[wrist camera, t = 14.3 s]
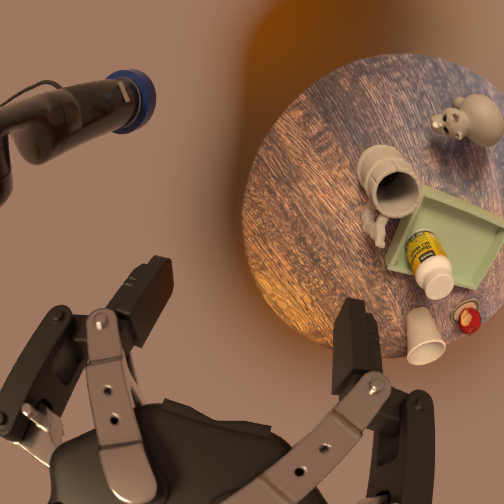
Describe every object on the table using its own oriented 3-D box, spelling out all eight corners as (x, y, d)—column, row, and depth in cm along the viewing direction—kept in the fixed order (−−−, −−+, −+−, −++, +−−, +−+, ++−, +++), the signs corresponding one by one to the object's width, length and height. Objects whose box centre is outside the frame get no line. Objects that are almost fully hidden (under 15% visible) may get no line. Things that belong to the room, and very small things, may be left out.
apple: (445, 323, 49) (452, 345, 44) (457, 298, 44) (466, 321, 39) (471, 320, 47) (479, 341, 42) (483, 296, 42) (493, 317, 37)
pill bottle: (418, 220, 37) (442, 263, 28) (442, 238, 38) (466, 281, 29) (396, 248, 41) (412, 294, 32) (420, 263, 41) (438, 309, 33)
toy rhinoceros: (414, 94, 27) (438, 99, 21) (478, 90, 23) (510, 98, 16) (423, 142, 31) (448, 159, 24) (485, 135, 27) (515, 151, 20)
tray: (383, 257, 43) (387, 269, 41) (414, 181, 35) (421, 189, 32) (470, 279, 41) (475, 290, 39) (503, 218, 32) (511, 227, 30)
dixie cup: (392, 321, 51) (398, 359, 43) (419, 297, 46) (431, 336, 38) (415, 332, 52) (422, 369, 44) (441, 311, 47) (453, 347, 39)
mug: (411, 154, 32) (444, 184, 23) (381, 220, 40) (398, 268, 30) (365, 134, 33) (386, 156, 23) (338, 205, 40) (345, 249, 30)
